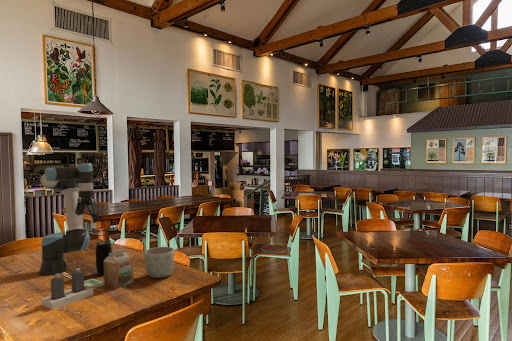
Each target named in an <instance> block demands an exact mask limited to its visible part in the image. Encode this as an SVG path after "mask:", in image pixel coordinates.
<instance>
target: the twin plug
mask: <svg viewBox="0 0 512 341" xmlns="http://www.w3.org/2000/svg"><path fill="white" fill-rule="evenodd" d="M64 291H65V282H64V277H62V276H60V273H59V274H54V277H53V278H50V296H51V299H53V300H57V299H60V298H63V297H64Z"/></svg>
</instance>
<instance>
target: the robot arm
mask: <svg viewBox="0 0 512 341" xmlns="http://www.w3.org/2000/svg"><path fill="white" fill-rule="evenodd" d="M44 169H45V170H44V174H42V175H41V177H40V179H39V183H40V185H41V186H42V187H43V188H45V189H48V190H51V191H52V190H55V191H56V190H57V191H58V190H59V191H60V192H61V194H63V195H64V205H65V216H66V224H67V230H66V231H65V234H63V233H62V232H53V233H51V234H47V235H44V236H43V237H42V238H41V244H40V246H41V263H40V266H39V270H38V274H39V275H41V276H52V275H53V276H55V274H59V275H60V274H61V273H65V272H66V271H67V270H68V265H67V263H66V260H65V258H64V254H67V253H74V252H78V251H79V252H81V251H84V250H87V249H88V247H89V243H90V233H89V231H87V230H86V228H84V213H83V212H84V210H85V209H86V208H87V209H88V211H89V213H90V215H91V216H90V221H91V222H90V224H91V225H90V226H91V230H93V229H97V228H98V226H97V222H98V220H97V217H99V216H100V214H99V210H98V207H97V204H96V199H95V198H93V197H94V178H93V177H94V176H93V173H94V172H93V170H94V168H93V164H92V163H91V162H90V163H88V162H87V163H86V162H85V163H83V162H81V163H78V164H77V166H65V167H61V166H59V167H55V166H54V167H53V166H51V167H46V168H44Z"/></svg>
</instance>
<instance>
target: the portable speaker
mask: <svg viewBox="0 0 512 341" xmlns="http://www.w3.org/2000/svg"><path fill="white" fill-rule="evenodd" d="M112 252H113V249H112V244H111V241H110V240H105V241H97V242H96V247H95V266H96V271H97V276H100V277H102V276H104V260H105V259H106V258H107V257H108V256H109V253H112Z"/></svg>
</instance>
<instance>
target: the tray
mask: <svg viewBox="0 0 512 341" xmlns="http://www.w3.org/2000/svg"><path fill="white" fill-rule="evenodd" d="M84 286H89V288H92V289H93V290H94V289H96V288H98V287H102V286H104V280H103V281H102V280H99V279H95V278H90V279H86V280H84Z"/></svg>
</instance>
